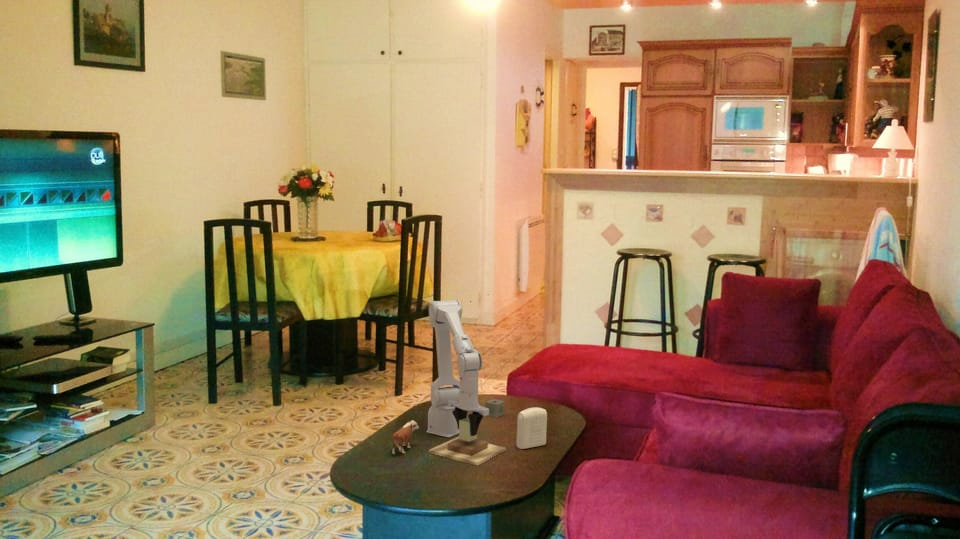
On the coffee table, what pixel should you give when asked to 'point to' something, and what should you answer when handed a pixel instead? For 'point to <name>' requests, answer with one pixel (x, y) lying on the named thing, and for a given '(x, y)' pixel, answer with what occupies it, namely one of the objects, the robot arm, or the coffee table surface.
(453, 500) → the coffee table surface
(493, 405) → the dice cube
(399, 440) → the bull figurine
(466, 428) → the sage block
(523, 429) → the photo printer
